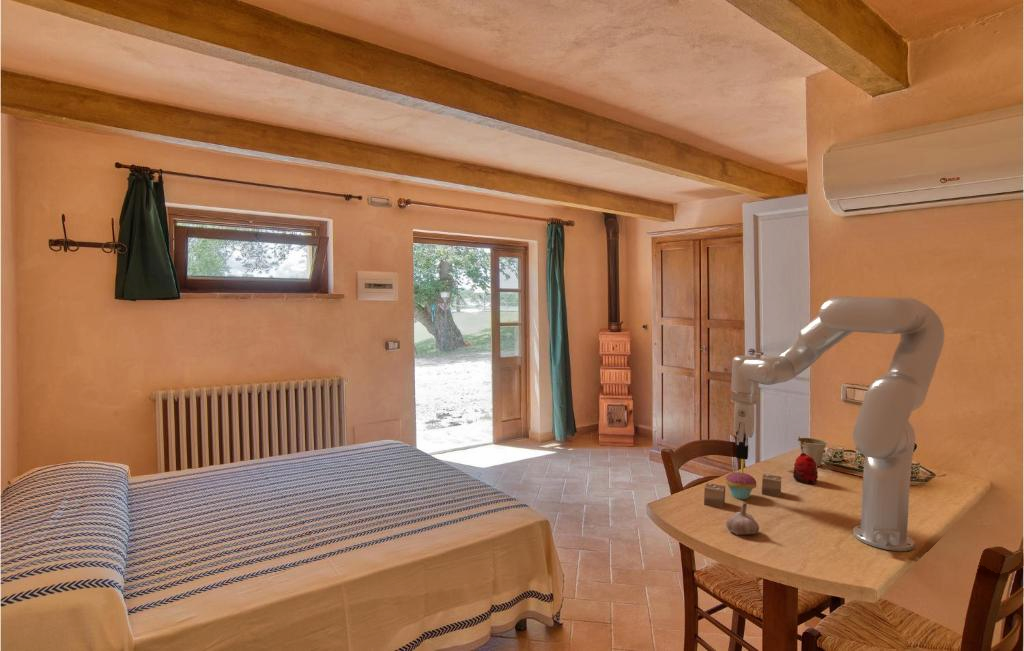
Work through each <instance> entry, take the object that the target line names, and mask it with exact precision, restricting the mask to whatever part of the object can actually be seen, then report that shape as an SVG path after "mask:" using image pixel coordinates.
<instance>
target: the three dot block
mask: <svg viewBox="0 0 1024 651" xmlns="http://www.w3.org/2000/svg"><path fill="white" fill-rule="evenodd" d="M703 494H704V496H703V505H704V506H710V507H713V508H720V509H723V508H724V505H725V503H726V485H724V484H723V485H722V484H716V483H712V482H706V485H705V486H704V492H703Z"/></svg>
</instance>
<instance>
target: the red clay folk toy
mask: <svg viewBox="0 0 1024 651" xmlns="http://www.w3.org/2000/svg"><path fill="white" fill-rule="evenodd" d="M798 438H799V439H800V440H797V442H798V441H801V449H802V453H801V454H800V455H799V456H797V458H796V459H795V462H794V466H793V475H792V477H793V478H794V480H795V481H797V482H800V483H802V482H803V484H807V485H808V484H810V485H811V484H812V485H814V484H816V483H817V482H818V476H819V475H818V474H819V473H818V472H819V471H818V467H816V462H815V461H814V459H813V458H812V457H811V456H809V455H806V454H805V453H803V446H802V444H803V445H804V442H802V439H803V438H804V437H800V436H798ZM801 438H802V439H801Z"/></svg>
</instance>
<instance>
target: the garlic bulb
mask: <svg viewBox="0 0 1024 651" xmlns="http://www.w3.org/2000/svg"><path fill="white" fill-rule="evenodd" d="M747 505H748V503H747V502H745V501H744V502H743V503H742V507H741V510H740V511H737V512H735V513H734V514H732V515H731V516H729V517H728V518H727V520H726V522H725V525H726V528H727V530H728V531H729V532H731V533H732V534H733V533H734V534H735V535H738V536H744V535H756V534H757V533H758V532H759V530H760V526H759V524H758V522H757V521H756V520H755V517H753V516H752V514H750V513H747V510H746V509H747Z"/></svg>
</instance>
